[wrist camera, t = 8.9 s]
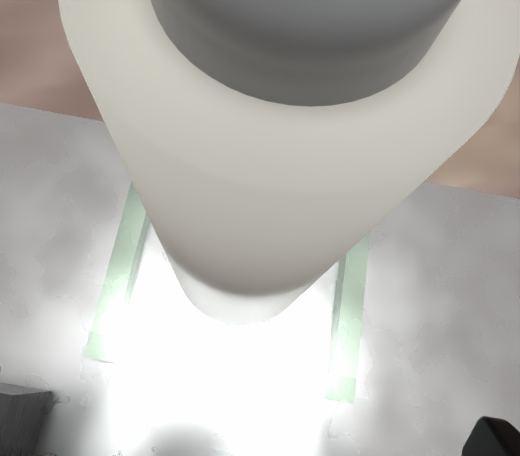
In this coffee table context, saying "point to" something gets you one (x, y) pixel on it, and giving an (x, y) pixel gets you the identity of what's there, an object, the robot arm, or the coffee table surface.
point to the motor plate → (241, 337)
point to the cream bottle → (284, 123)
